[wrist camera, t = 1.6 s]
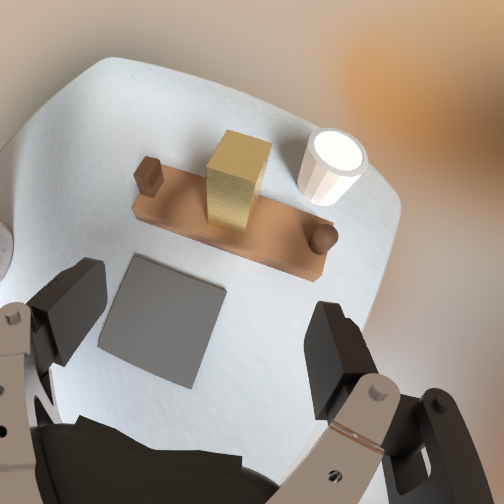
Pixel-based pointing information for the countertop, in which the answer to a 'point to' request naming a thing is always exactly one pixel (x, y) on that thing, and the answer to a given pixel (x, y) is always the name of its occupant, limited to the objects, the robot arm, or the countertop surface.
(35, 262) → the countertop surface
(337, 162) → the white cup
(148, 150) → the countertop surface
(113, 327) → the mat
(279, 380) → the countertop surface
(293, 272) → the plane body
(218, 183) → the pale wooden block
